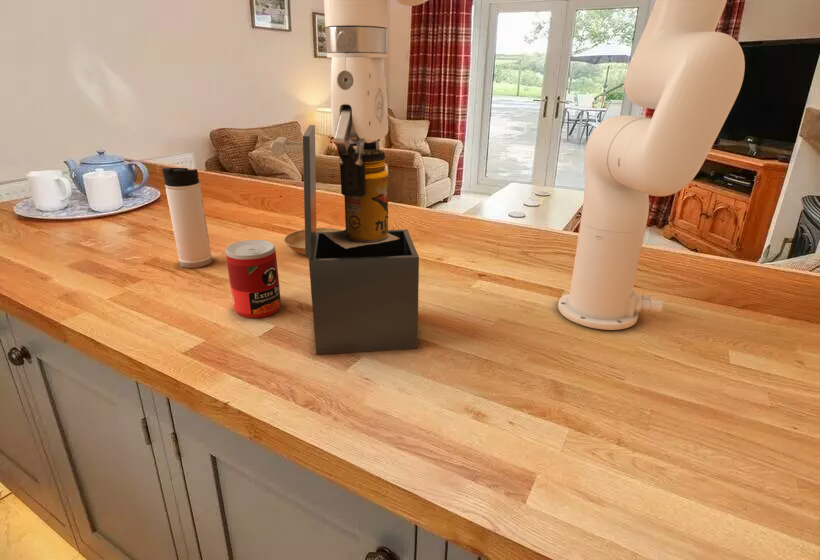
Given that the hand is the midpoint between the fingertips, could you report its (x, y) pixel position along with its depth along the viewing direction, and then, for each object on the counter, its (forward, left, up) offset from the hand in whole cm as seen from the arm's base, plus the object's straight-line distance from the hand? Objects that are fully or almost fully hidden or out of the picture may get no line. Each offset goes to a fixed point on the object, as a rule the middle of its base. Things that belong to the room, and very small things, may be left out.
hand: (361, 188), depth 68 cm
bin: (0, 0, -22) cm, 22 cm away
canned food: (+20, -3, -22) cm, 30 cm away
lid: (+6, +2, 0) cm, 7 cm away
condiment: (0, +1, -7) cm, 7 cm away
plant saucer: (+22, -34, -22) cm, 46 cm away
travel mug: (+43, -19, -22) cm, 52 cm away
